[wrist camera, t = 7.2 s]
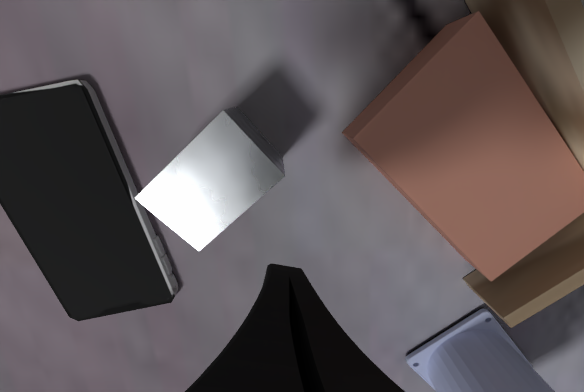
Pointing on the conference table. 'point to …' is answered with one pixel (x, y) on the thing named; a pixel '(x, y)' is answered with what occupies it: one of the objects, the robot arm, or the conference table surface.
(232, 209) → the grey rectangular block
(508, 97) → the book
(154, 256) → the smartphone
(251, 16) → the conference table surface
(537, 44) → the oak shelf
